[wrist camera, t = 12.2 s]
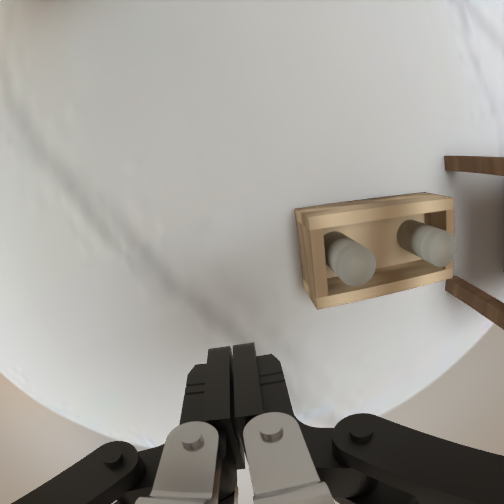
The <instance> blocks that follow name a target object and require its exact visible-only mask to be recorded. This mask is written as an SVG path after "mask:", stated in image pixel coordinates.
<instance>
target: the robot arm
mask: <svg viewBox="0 0 504 504" xmlns="http://www.w3.org/2000/svg"><path fill="white" fill-rule="evenodd" d="M186 386H187V387H186V389H185V395H184V401H183V407H182V413H181V419H180V425H179V426H177V427H176V428H174V429H173V430H172V431H171V432H170V433H169V435H168V436H167V439H166V442H165V444H163V445H161V446H158V447H155V448H151V449H147V450H143V451H139V452H137V450H136V449H135V447H134V446H133V445H131V444H129V443H127V442H123V441H114V442H109V443H106V444H104V445H102V446H100V447H99V448H97V449H96V450H95V451H93V452H92V453H90V454H89V455H87V456H86V457H84V458H83V459H81V460H80V461H78V462H77V463H75V464H74V465H73V466H71V467H69V468H68V469H66V470H65V471H63V472H62V473H60V474H59V475H57V476H56V477H54V478H52V479H51V480H49V481H48V482H46V483H44V484H43V485H41V486H40V487H38V488H37V489H35V490H33V491H32V492H30V493H28V494H27V495H25V496H23V497H22V498H20V499H18V500H17V501H15V502H13V503H12V504H111V503H113V502H114V501H115V500H117V502H115V503H114V504H238V487H237V469H245V459H244V452H245V455H246V458H247V462H248V465H249V471H250V476H251V482H252V487H253V493H254V497H253V501H254V504H335V503H334V500H335V501H337V502H338V503H340V504H504V456H502V455H497V454H493V453H489V452H486V451H482V450H478V449H474V448H471V447H467V446H464V445H460V444H457V443H454V442H451V441H447V440H444V439H441V438H437V437H435V436H432V435H429V434H425V433H423V432H420V431H417V430H414V429H411V428H408V427H405V426H402V425H400V424H397V423H394V422H391V421H389V420H386V419H383V418H381V417H378V416H376V415H372V414H365V413H361V414H354V415H350V416H348V417H346V418H344V419H342V420H341V421H340V422H338V423H337V425H336V426H335V428H315V427H310V426H307V425H305V424H303V423H301V422H300V421H299V420H298V419H297V418H296V417H295V415H294V413H293V410H292V406H291V402H290V398H289V394H288V390H287V387H286V383H285V379H284V375H283V371H282V367H281V363H280V361H279V360H278V359H277V358H276V357H274V356H273V355H272V354H269V355H263V356H257V357H256V351H255V346H254V342H253V343H247V344H241V345H234V346H233V356H232V351H231V348H230V346H227V347H220V348H213V349H209V350H208V358H207V364H199V365H195V366H194V368H193V369H192V370H191V371H190V373H189V374H188V378H187V383H186ZM332 497H333V498H332ZM333 499H334V500H333Z"/></svg>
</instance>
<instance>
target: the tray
mask: <svg viewBox="0 0 504 504" xmlns="http://www.w3.org/2000/svg"><path fill="white" fill-rule="evenodd" d="M295 214H296V222H297V230H298V238H299V247H300V256H301V265H302V275H303V285H304V289H305V290H306V292H307V294H308V295H309V297H310V299H311V300H312V302H313V304H314V305H315V307H316V309H317V310H318V309H323V308H328V307H333V306H338V305H342V304H347V303H352V302H356V301H361V300H365V299H370V298H374V297H379V296H383V295H387V294H392V293H396V292H400V291H404V290H408V289H412V288H416V287H420V286H424V285H428V284H432V283H435V282H439V281H443V280H447V279H450V278H453V264H454V256H455V253H456V248H457V244H456V239H455V237H454V198H452V197H447V196H442V195H436V194H431V193H425V192H423V193H414V194H405V195H396V196H388V197H379V198H371V199H363V200H355V201H348V202H340V203H333V204H325V205H318V206H311V207H304V208H297V209H295Z"/></svg>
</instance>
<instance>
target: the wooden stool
mask: <svg viewBox="0 0 504 504" xmlns="http://www.w3.org/2000/svg"><path fill="white" fill-rule="evenodd" d="M444 158H445V169H446V170H449V171H462V172H473V173H483V174H492V175H501V176H504V158H503V157H481V156H444ZM445 290H446V291H447V292H449V293H450V294H452V295H454V296H455V297H457V298H458V299H460V300H461V301H463V302H464V303H466V304H467V305H469V306H470V307H472V308H473V309H475V310H476V311H478V312H479V313H481V314H482V315H483V316H485V317H486V318H488V319H489V320H491V321H492V322H494V323H495V324H496V325H498V326H499V327H501V328H502V329H504V303H502V302H501V301H499V300H497V299H496V298H494V297H492V296H491V295H489V294H487V293H486V292H484V291H482V290H480V289H479V288H477V287H475V286H473V285H472V284H470V283H468V282H466V281H465V280H463V279H461V278H459V277H457V276H453V278H450V279H447V280H446V289H445Z"/></svg>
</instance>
